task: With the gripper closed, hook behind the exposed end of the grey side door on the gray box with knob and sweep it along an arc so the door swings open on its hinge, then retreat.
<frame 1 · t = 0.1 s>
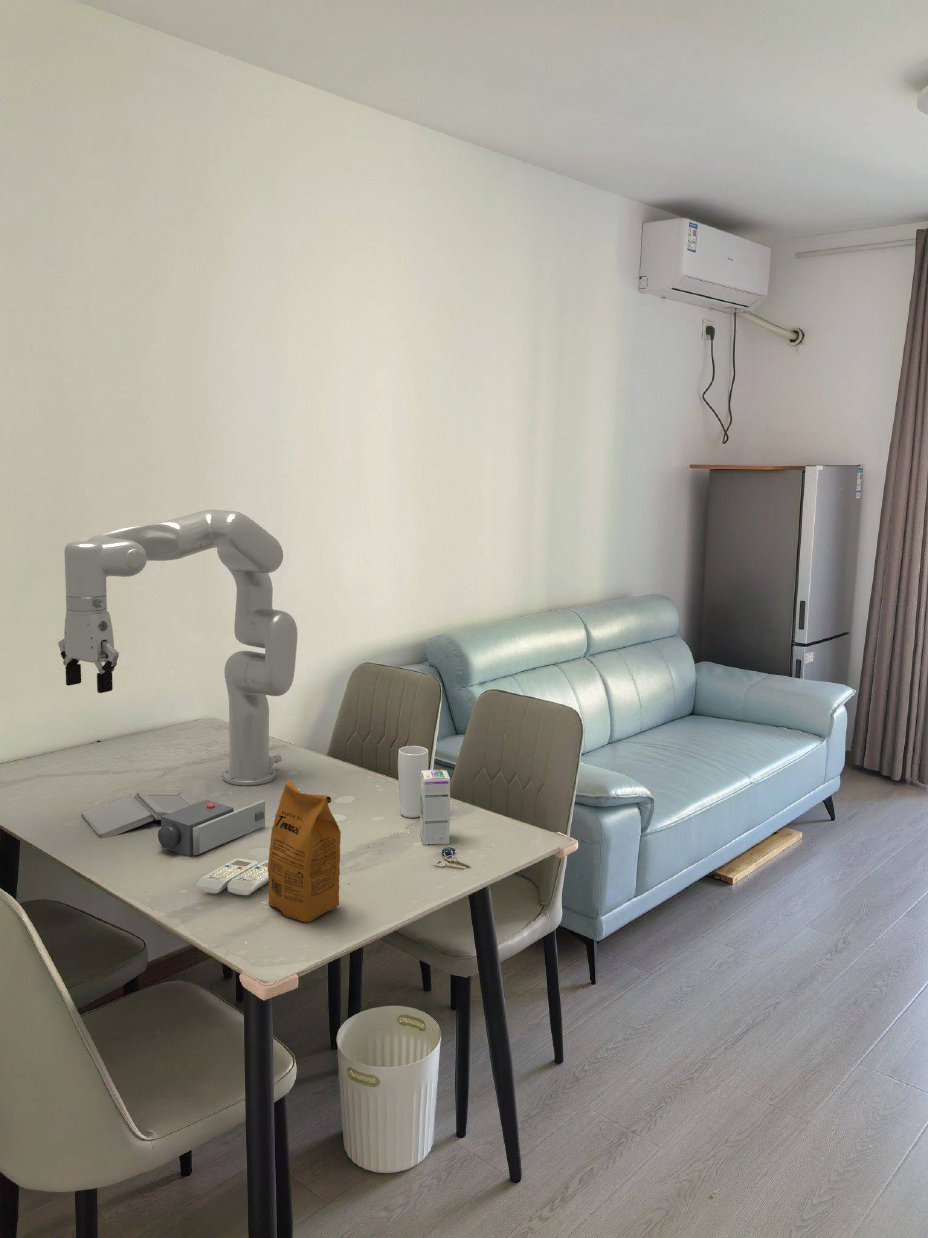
hand: (89, 688, 192), 31 cm above the table, fingers open, 9 cm apart
side door: (230, 827, 196), point 3 cm above the table, hinge at 0.0°
gadget: (144, 819, 208), on the table
drinking glass: (411, 815, 215), on the table
gray box with knob: (198, 842, 195), on the table
syrup box: (433, 840, 201), on the table
coffee package: (302, 908, 169), on the table
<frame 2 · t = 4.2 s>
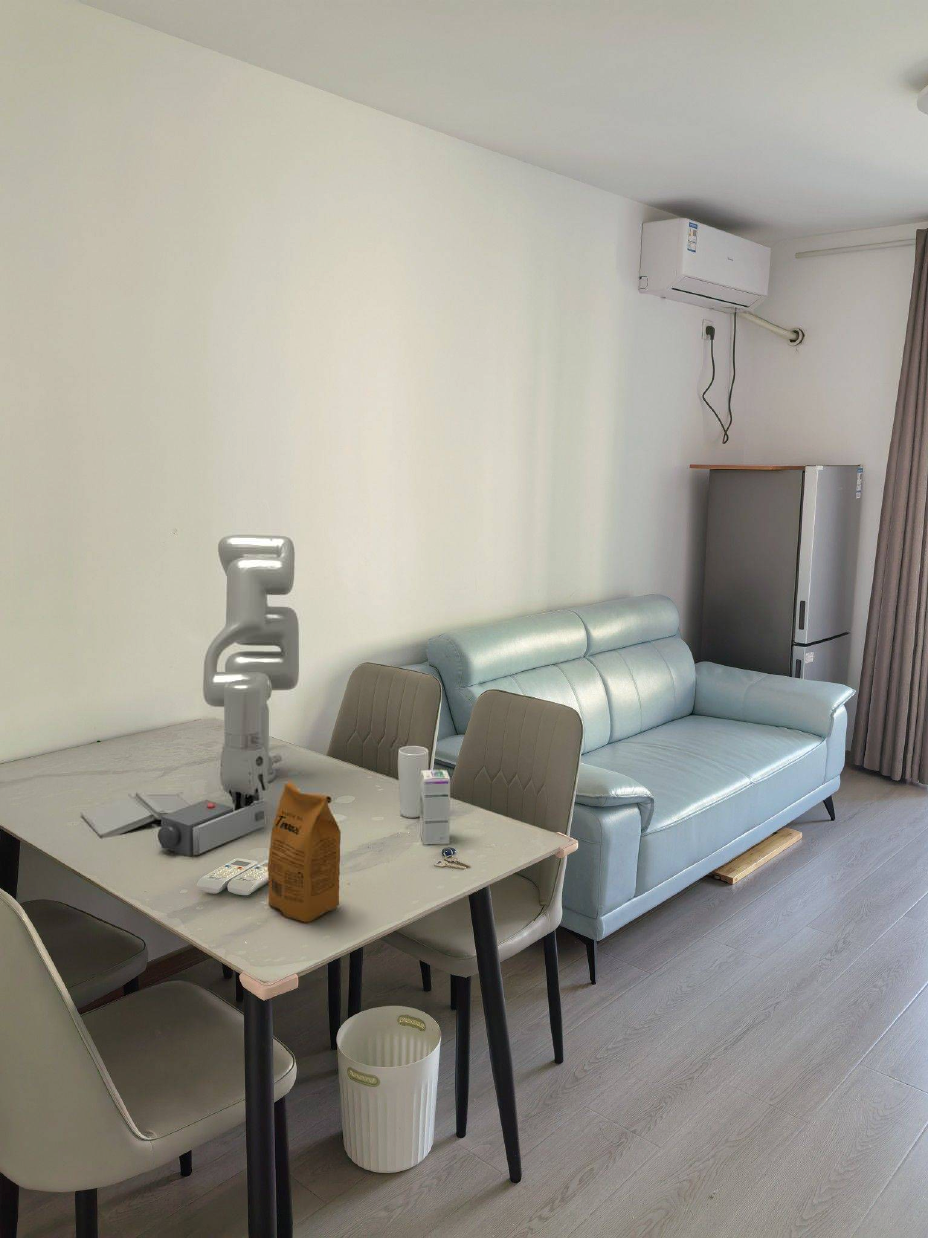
hand: (243, 821, 203), 1 cm above the table, fingers closed
side door: (231, 827, 196), point 3 cm above the table, hinge at 0.1°, touching gripper
everything else where it was.
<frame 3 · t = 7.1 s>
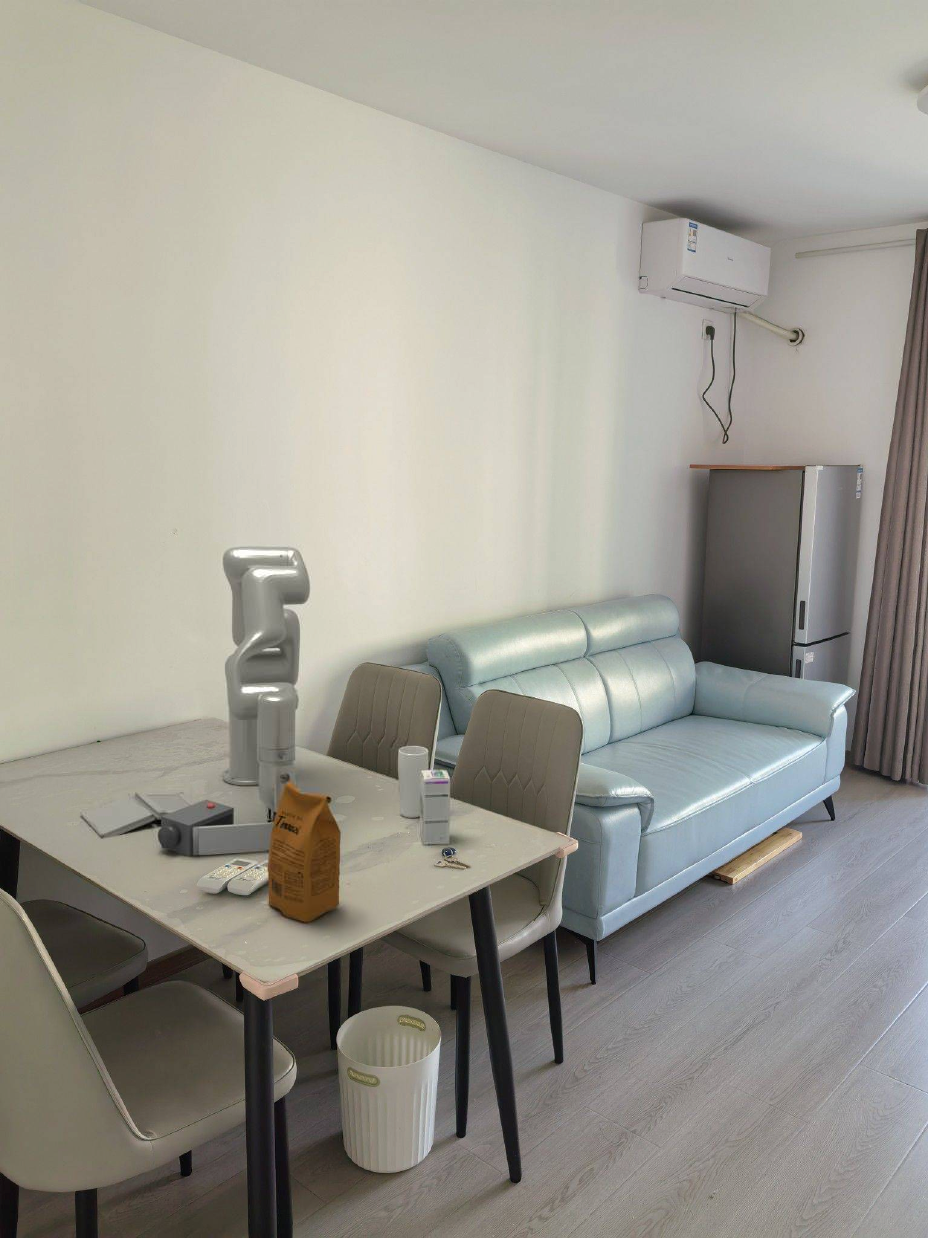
hand: (275, 838, 196), 1 cm above the table, fingers closed
side door: (243, 838, 190), point 3 cm above the table, hinge at 43.5°, touching gripper
everything else where it was.
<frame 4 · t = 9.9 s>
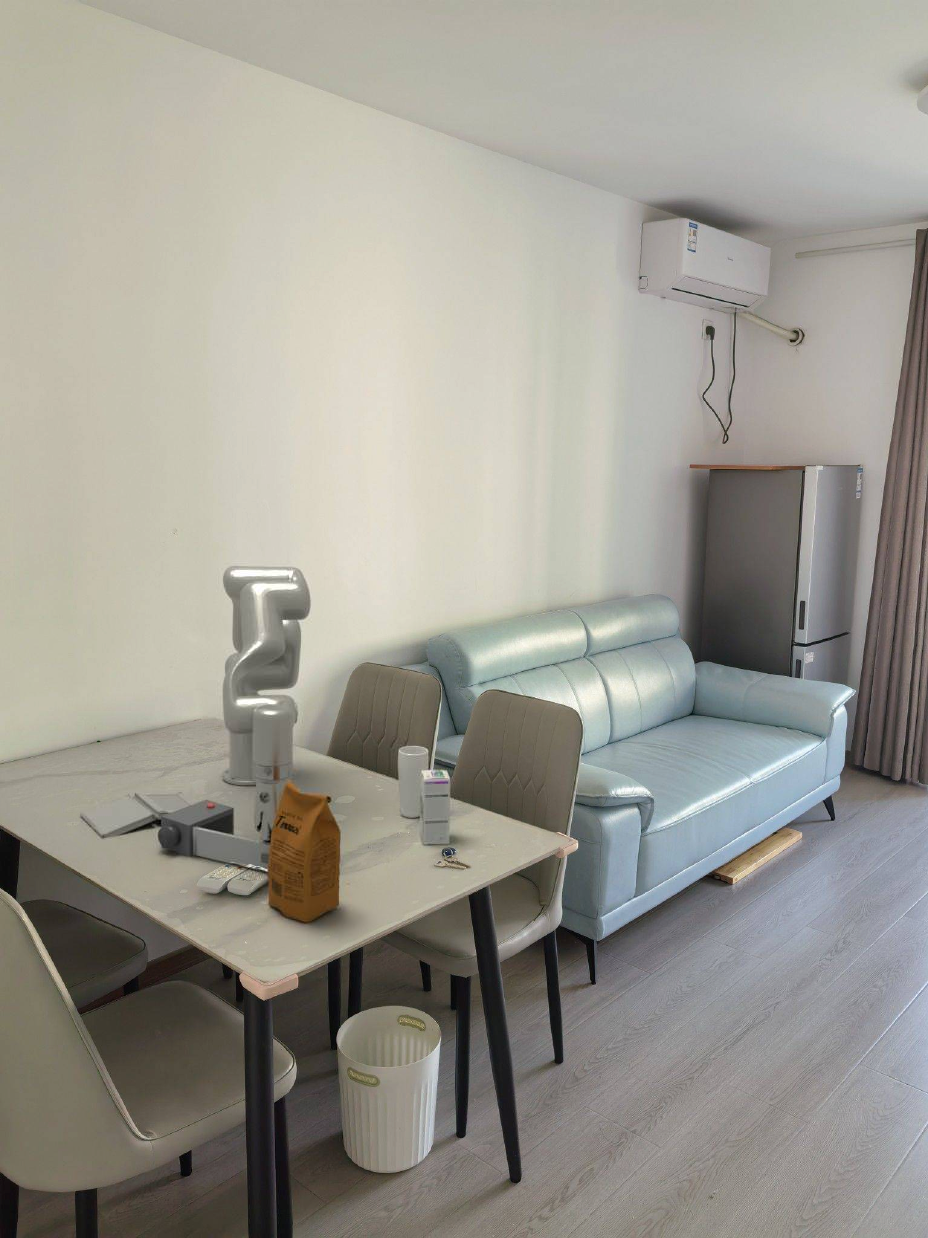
hand: (272, 859, 186), 1 cm above the table, fingers closed
side door: (233, 850, 184), point 3 cm above the table, hinge at 81.4°, touching gripper
everything else where it was.
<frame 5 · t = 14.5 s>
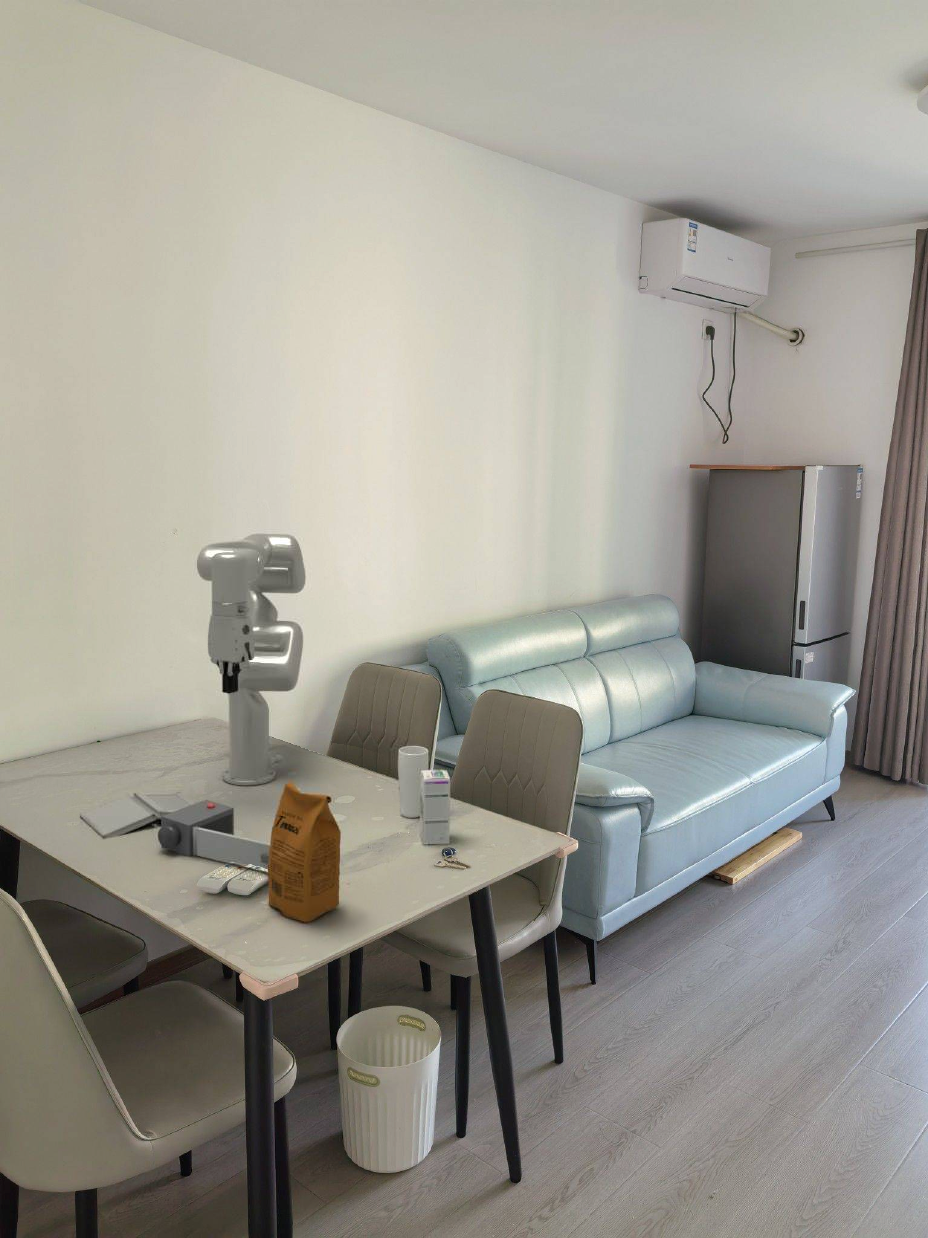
hand: (230, 691, 209), 27 cm above the table, fingers closed
side door: (233, 850, 184), point 3 cm above the table, hinge at 81.6°
everything else where it was.
at the end: side door at +82° (first picture: +0°) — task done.
